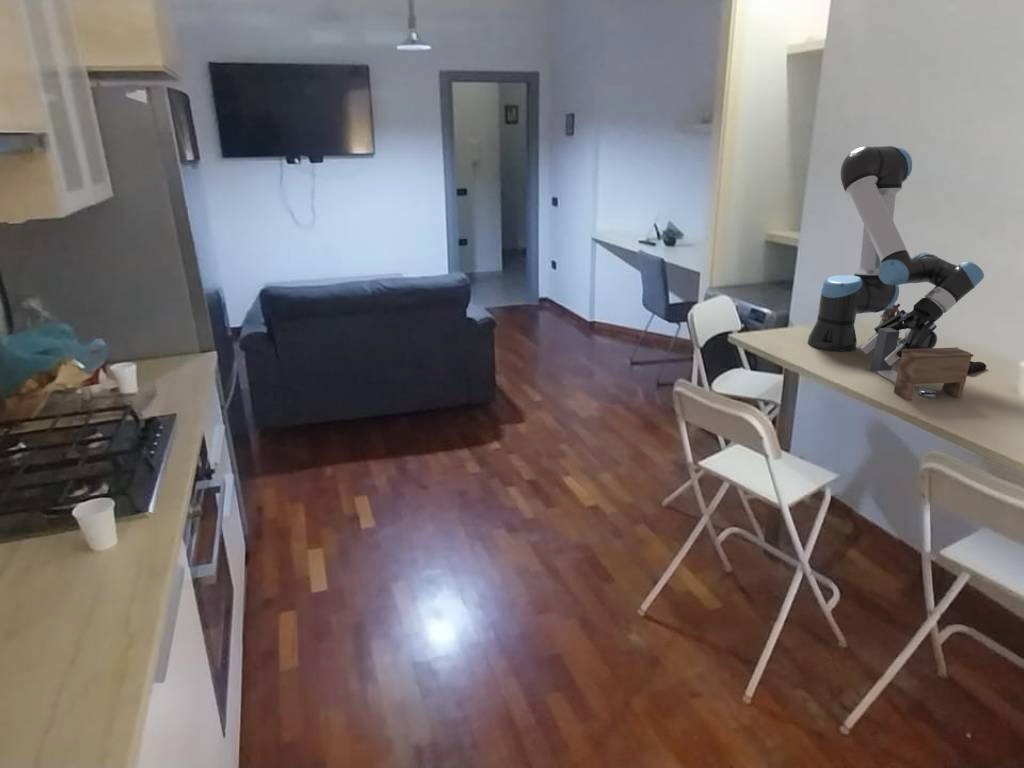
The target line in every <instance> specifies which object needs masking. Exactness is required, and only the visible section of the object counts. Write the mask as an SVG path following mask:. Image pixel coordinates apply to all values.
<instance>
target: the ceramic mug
mask: <svg viewBox="0 0 1024 768" xmlns="http://www.w3.org/2000/svg"><path fill="white" fill-rule="evenodd" d="M910 330H911V329H908V328H907V329H906V332H905V334H904V337H903V338H901V339H898V342H897V347H896V348H898V347H899V346H900V345H901V344H903V343H904V342H906V340H907V338H908V335H909V333H910ZM937 343H938V336H937V333H936V332H935V330H933V331H932V332H931V333H930V334H929V336H928V337H927V339H926V340H925V341H924V343H923V344H922V346H921V347H920V349H927V348H935V346H936V345H937ZM904 344H905V343H904ZM904 344H903V345H904ZM916 345H917V344H916ZM904 346H905V345H904Z"/></svg>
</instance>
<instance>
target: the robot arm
mask: <svg viewBox="0 0 1024 768" xmlns="http://www.w3.org/2000/svg"><path fill="white" fill-rule="evenodd" d="M912 171H913V160H912V157H911V154H910V153H909V152H908V151H907V150H906V149H904V148H903V147H900V146H899V147H898V146H893V145H891V146H890V145H887V146H869V145H868V146H861V147H857V148H855V149H854V150H852V151H851V152H849V153H848V155H846V157H845V158H844V160H843V161H842V165H841V168H840V180H841V181H840V182H841V185H842V188H843V190H844V192H845V195H847V196H850V197H851V199H852V201H853V203H854V205H855V207H856V209H857V212H858V214H859V216H860V219H861V221H862V223H863V227H862V228H863V230H862V241H861V253H860V265H859V269H857V270H856V271H855V272H854V274H853V275H852V274H844V275H843V274H838V275H833V276H830V277H828V278H826V279H825V280H824V282H823V284H822V288H821V291H820V299H819V306H818V313H817V319H816V322H815V323H814V326H813V327H812V329H811V331H810V332H809V335H808V338H807V339H808V340H807V344H809V345H810V346H812V347H814V348H817V349H822V350H826V351H833V352H847V351H848V352H850V351H852V350H855V349H856V348H857V343H858V341H857V335H856V330H855V324H856V323H855V321H856V318H857V317H856V316H857V315H858V314H859V315H860V314H868V313H869V314H870V313H879V312H884V310H887V309H889V308H890V307H892V306H893V305H894V304H895V305H896V302H897V301H898V299H899V296H900V285H907V284H919V283H921V284H922V283H929V284H932V285H934V287H933V288H932V289H931V290H930V291H929V292H927V293H926V294H925V295H924V297H922V298H920V299H918V301H917V302H916V303H915V304H914V305H913V307H912V308H913V309H912V310H911V311H910V312H906V311H905V310H904V309H901V310H899V311H900V312H899V313H898V314H897V313H896V314H897V315H896V314H895V316H894V317H892V318H890V319H889V320H887V321H885V322H884V323H882V324H881V325H879V324H878V325H877V326H876V327H874V331H875V334H874V335H873V336H872V337H870V338H869V339H868V341H867V342H865V343H864V344H863V346H861V347H860V349H861V350H862V352H864V354H865V355H868V354H869V353H870V352H871V351H872V350H873V349H875V345H876V340H877V335H878V330H879V328H892V329H895V330H897V331H899V332H900V330H901V331H902V330H908V329H911V330H910V333H909V335H908V338H907V340H906V342H904V343H902V344H901V345H900V346H899V347H896V349H895V350H894V351H893V352H892V353H891V354H890V355H888V356H887V357H886V358H885V359H884V360H885V361H886V362H887V364H888V365H889V366H891V365H892V364H893V365H894V363H896V362H897V361H898V360H899V359H901V356H902V352H901V350H902V349H920V347H921V346H922V344H923V343H924V341H925V340H926V339H927V337H928V336H929V334H930V333H931V332H932V331H935V329H937V325H936V323H935V322H937V321H938V320H939V319H940V318H941V317H942V316H943V315H944V314H945V313H947V312H948V311H950V309H951V308H953V307H954V306H955V305H956V304H957V303H958V302H959V301H960V300H961V299H963V297H965V296H966V295H967V294H969V293H970V292H971V291H973V289H975V288H976V287H977V286H978V285H979V283H981V282H982V281H983V280H984V278H985V274H984V271H983V270H982V268H981V267H980V266H978V265H977V264H976V263H975V262H972V261H969V260H968V261H967V260H965V261H963V262H961V263H959V264H958V265H956V264H953V263H951V262H949V261H947V260H945V259H942V258H940V257H938V256H937V255H935V254H931V253H928V252H920V253H919V254H916V255H915V256H913V257H911V256H910V253H909V252H908V249H907V247H906V245H905V243H904V241H903V239H902V236H901V235H900V233H899V232H900V231H898V228H897V226H896V223H895V222H894V217H895V206H896V196H897V194H898V193H899V192H900V191H901V190H902V188H903V183H904V182H905V181H907V179H908V177H910V176H911V173H912ZM903 344H904V345H905V346H904V345H903ZM916 344H917V345H916Z"/></svg>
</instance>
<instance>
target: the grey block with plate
mask: <svg viewBox="0 0 1024 768" xmlns="http://www.w3.org/2000/svg"><path fill="white" fill-rule="evenodd" d="M900 334H901V333H900V330H899V331H897V330H895V329H892V328H879V330H878V335H877V340H876V345H875V347H874V350H873V351H874V352H873V355H872V362H871V365H870V370H872V369H873V370H872V371H874V370H875V371H874V372H876V371H877V372H876V373H877V374H878V373H879V374H878V375H880V374H881V375H880V376H882V377H883V376H884V377H883V378H885V377H886V379H887V378H888V379H887V380H889V379H890V380H889V381H892V382H893V383H894V384H896V379H897V374H898V371H896V370H893V366H894V363H893V364H892V365H891V366H889V365H888V364H887V362H886V361H885V360H884V359H885V358H886V357H887V356H888V355H890V354H891V353H892V352H893V351H894V350H895V349H896V348H898V347H897V342H898V341H899V337H900ZM920 386H921V384H915V388H916V387H920Z"/></svg>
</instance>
